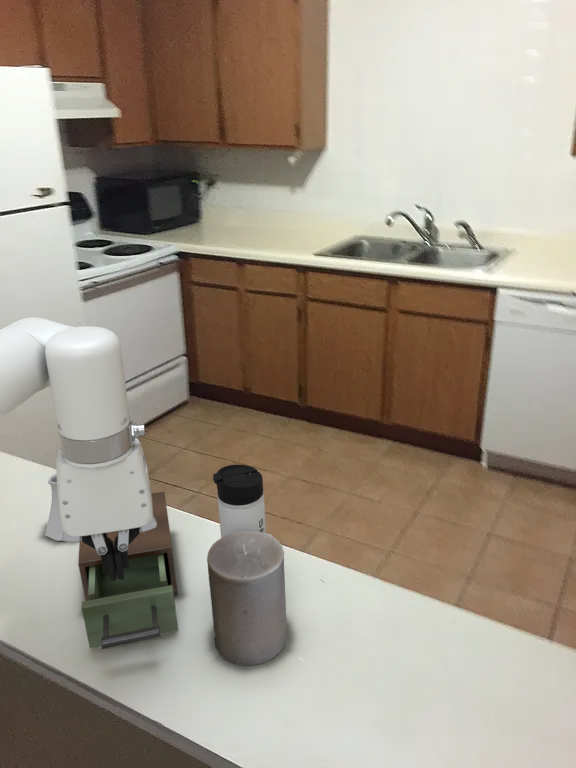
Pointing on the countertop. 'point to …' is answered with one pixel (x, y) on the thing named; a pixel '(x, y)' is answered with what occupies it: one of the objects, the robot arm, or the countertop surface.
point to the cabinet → (138, 546)
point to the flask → (54, 513)
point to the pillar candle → (248, 597)
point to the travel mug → (240, 499)
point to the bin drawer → (129, 604)
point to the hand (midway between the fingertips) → (117, 572)
